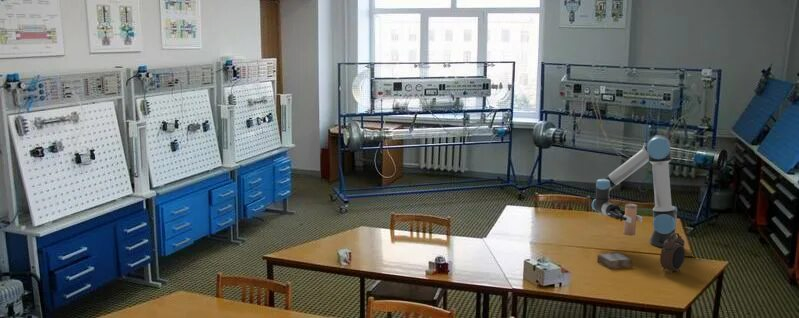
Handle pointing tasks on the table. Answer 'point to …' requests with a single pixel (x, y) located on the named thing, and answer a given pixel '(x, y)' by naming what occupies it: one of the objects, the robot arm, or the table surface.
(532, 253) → the table surface
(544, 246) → the table surface
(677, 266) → the alarm clock
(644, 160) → the robot arm
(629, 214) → the canister
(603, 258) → the base stand
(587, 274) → the table surface
